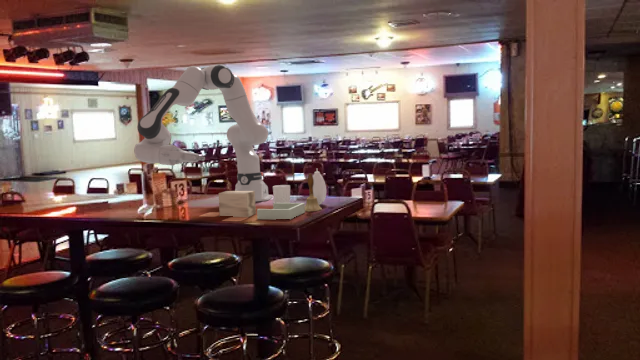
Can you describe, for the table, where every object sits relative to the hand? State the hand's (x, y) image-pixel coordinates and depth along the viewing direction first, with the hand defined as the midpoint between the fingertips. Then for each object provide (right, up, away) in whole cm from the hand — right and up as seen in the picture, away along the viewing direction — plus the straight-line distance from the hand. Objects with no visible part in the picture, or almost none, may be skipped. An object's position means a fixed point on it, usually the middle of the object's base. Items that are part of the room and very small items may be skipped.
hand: (199, 158), depth 238 cm
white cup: (+35, -22, +13) cm, 43 cm away
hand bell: (+49, -23, +3) cm, 54 cm away
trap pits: (+12, -25, -7) cm, 28 cm away
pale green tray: (+36, -24, -10) cm, 44 cm away
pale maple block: (+17, -25, -3) cm, 30 cm away
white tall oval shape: (+51, -21, +18) cm, 58 cm away
